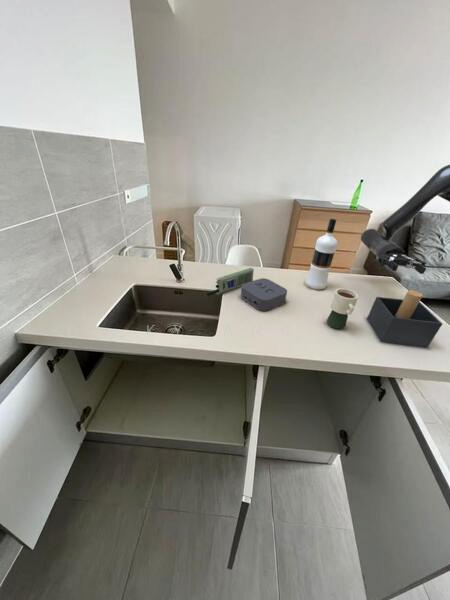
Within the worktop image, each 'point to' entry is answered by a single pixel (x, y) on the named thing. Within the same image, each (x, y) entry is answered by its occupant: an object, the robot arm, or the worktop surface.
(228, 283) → the handheld radio
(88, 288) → the worktop surface
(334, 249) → the vodka
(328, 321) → the character mug
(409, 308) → the banded cardboard tube
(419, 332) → the bin
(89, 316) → the worktop surface
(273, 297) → the streaming box
